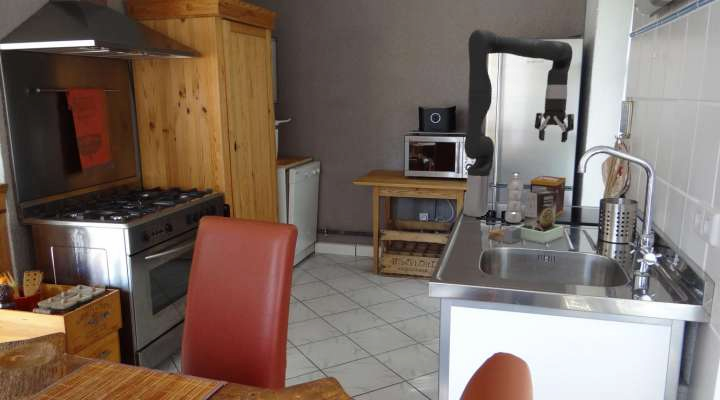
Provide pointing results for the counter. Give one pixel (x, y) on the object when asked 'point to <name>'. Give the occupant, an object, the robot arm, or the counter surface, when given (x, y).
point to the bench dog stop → (512, 235)
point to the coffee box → (540, 210)
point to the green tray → (541, 234)
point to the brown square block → (497, 235)
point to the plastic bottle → (514, 199)
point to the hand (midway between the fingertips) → (552, 141)
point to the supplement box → (551, 189)
